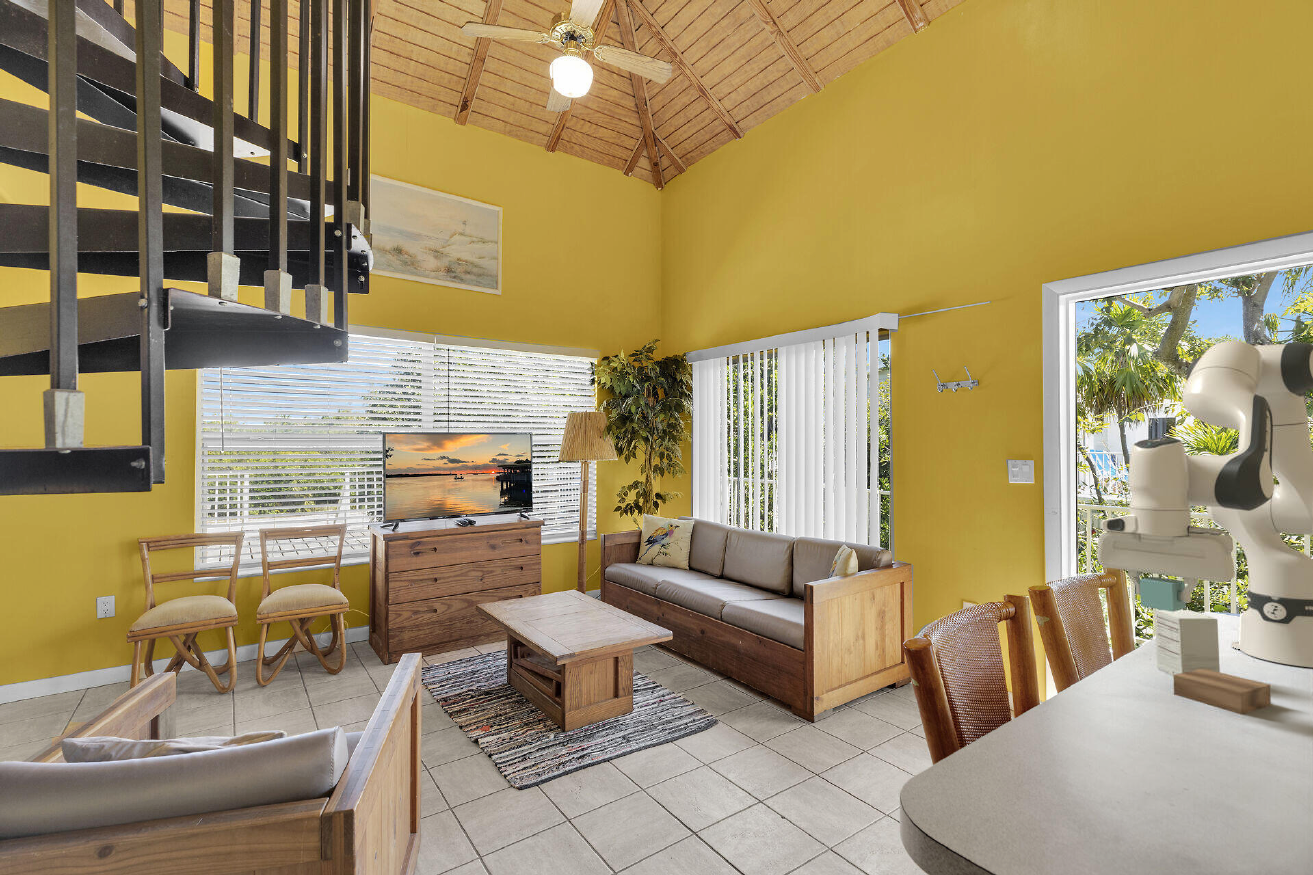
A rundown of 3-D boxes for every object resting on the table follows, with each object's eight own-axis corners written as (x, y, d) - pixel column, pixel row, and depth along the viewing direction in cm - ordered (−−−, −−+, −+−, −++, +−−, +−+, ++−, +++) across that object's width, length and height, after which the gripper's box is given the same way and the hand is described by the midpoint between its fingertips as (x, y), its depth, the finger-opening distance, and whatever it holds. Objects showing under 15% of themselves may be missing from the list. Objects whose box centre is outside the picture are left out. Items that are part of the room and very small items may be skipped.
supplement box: (1192, 669, 130) (1190, 609, 130) (1221, 682, 123) (1219, 618, 123) (1155, 668, 131) (1153, 608, 131) (1181, 680, 123) (1179, 617, 124)
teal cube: (1153, 602, 118) (1152, 576, 118) (1185, 608, 114) (1184, 581, 114) (1140, 606, 116) (1139, 579, 116) (1173, 611, 111) (1172, 583, 111)
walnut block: (1203, 688, 120) (1202, 667, 120) (1270, 707, 111) (1270, 684, 111) (1174, 696, 116) (1173, 674, 116) (1241, 716, 107) (1240, 692, 107)
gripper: (1239, 528, 108) (1243, 607, 107) (1108, 519, 126) (1110, 586, 125) (1224, 530, 105) (1227, 612, 104) (1092, 520, 122) (1094, 590, 122)
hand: (1162, 598), depth 115 cm, fingers closed on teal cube, 5 cm apart
